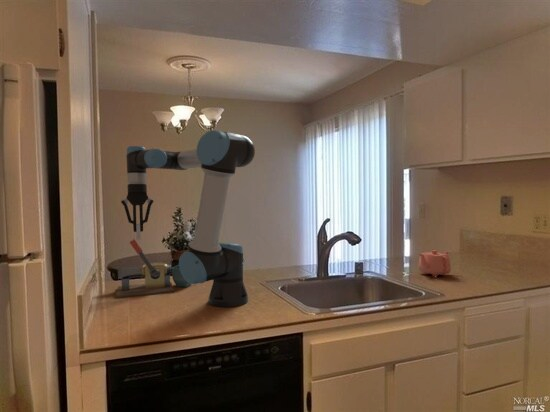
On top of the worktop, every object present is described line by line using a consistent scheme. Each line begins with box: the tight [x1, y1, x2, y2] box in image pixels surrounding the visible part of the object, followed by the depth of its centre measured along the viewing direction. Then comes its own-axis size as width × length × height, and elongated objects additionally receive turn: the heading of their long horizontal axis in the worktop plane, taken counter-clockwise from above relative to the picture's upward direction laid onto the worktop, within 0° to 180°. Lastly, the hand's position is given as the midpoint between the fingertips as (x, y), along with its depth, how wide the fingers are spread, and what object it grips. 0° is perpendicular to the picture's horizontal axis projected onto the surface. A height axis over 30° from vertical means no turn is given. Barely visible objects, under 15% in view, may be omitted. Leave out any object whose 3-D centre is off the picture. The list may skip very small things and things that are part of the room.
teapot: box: [418, 249, 452, 277], centre depth 185 cm, size 15×17×13 cm
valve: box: [117, 261, 172, 291], centre depth 160 cm, size 9×22×10 cm, turn 111°
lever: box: [129, 238, 160, 279], centre depth 154 cm, size 2×20×4 cm
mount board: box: [115, 281, 175, 299], centre depth 159 cm, size 16×23×1 cm
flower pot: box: [171, 264, 192, 288], centre depth 167 cm, size 9×9×9 cm
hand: (138, 239), depth 153 cm, fingers closed
